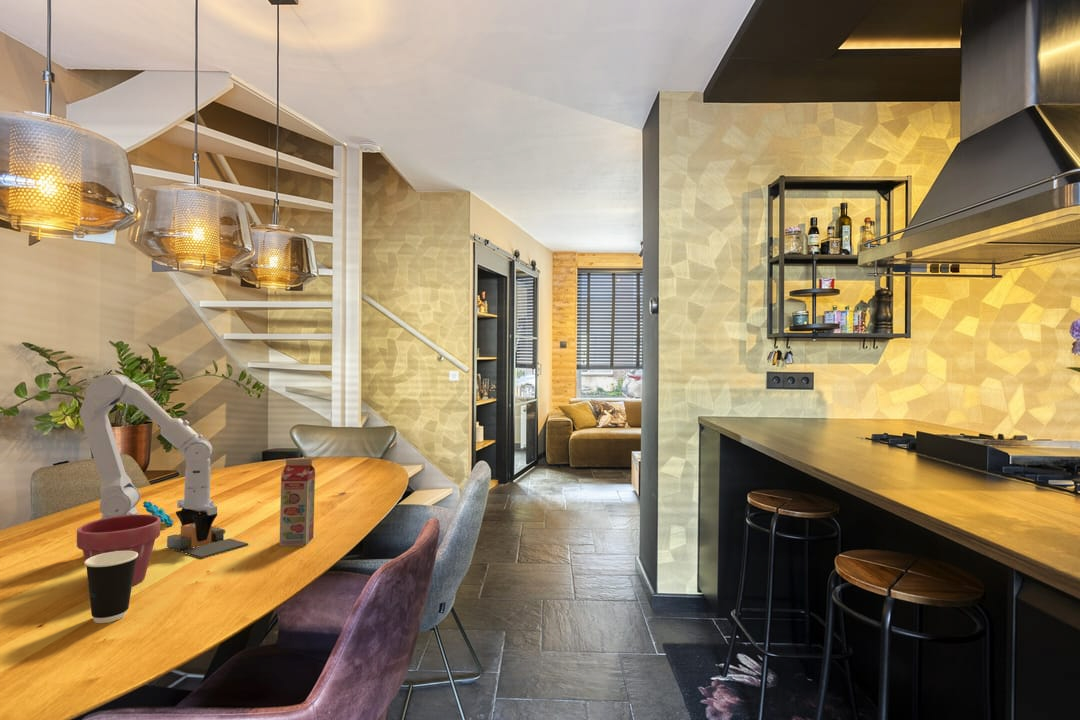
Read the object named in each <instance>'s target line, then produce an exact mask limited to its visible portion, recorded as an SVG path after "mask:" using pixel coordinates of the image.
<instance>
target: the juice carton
mask: <svg viewBox="0 0 1080 720" xmlns="http://www.w3.org/2000/svg"><path fill="white" fill-rule="evenodd" d="M312 464H313V459H306V458H305V459H303V458H298V459H297V458H293V459H292V458H289V459H288V458H286V459H285V466H284V468H283V471H282V473H281V475H280V507H279V508H280V509H279V512H280V513H279V514H280V516H279V517H280V518H279V545H278V546H279V547H292V546H293V547H302V546H304V547H305V546H307V545H308V544H309V543H310V542H311V541H312V540H313V539H314V529H315V527H314V523H315V521H314V520H315V493H316V492H315V490H316V489H315V487H316V481H315V480H316V469H315V467H314V466H313V465H312Z"/></svg>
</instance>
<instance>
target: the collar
mask: <svg viewBox="0 0 1080 720" xmlns="http://www.w3.org/2000/svg"><path fill="white" fill-rule="evenodd" d="M211 528H212V525H211ZM211 528H210V531H209V534H208V537H207V540H204V541H200V542H199V541H197V537H196V527H192V523H190V524H186V525H182V524H181V525H180V536H184V537H187V538H189V547H190V548H189V549H192V548H193V547H197V546H201V545H202V546H203V545H205V544H206V545H207V544H209V543H212V541H211Z"/></svg>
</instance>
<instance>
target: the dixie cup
mask: <svg viewBox="0 0 1080 720" xmlns="http://www.w3.org/2000/svg"><path fill="white" fill-rule="evenodd" d="M137 557H138V553H137V552H134V551H115V552H108V553H103V554H99V555H96V556H93V557H90V558H88V559H87V560H86V561H85V560H84V565H85V566H86V576H87V585H88V594H89V602H90V603H89V604H90V613H91V616H92V619H93V622H94V623H97V624H106V623H111V622H116V621H119V620H121V619H123V618H124V617H126V615H127V611H128V609H129V607H130V600H131V593H132V589H133V585H132V582H133V576H134V569H135V563H136V558H137ZM120 618H121V619H120Z"/></svg>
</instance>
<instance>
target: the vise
mask: <svg viewBox="0 0 1080 720" xmlns="http://www.w3.org/2000/svg"><path fill="white" fill-rule="evenodd" d="M192 527H195V523H192ZM225 533H226V529H224V528H220V527H216V526H212V528H211V542H212V541H213V542H212V543H214V542H218V541H221V540H225V539H224V536H225ZM167 547H168V548H170V549H169V550H172V549H174V550H173V551H175V550H177V551H176V552H178V551H180V552H179V553H182V552H181V551H184V550H188V549H190V548H189V538H187V537H184V536H181V534H176V533H175V534H171V535H167V537H166V548H167ZM168 548H167V549H168Z"/></svg>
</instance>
